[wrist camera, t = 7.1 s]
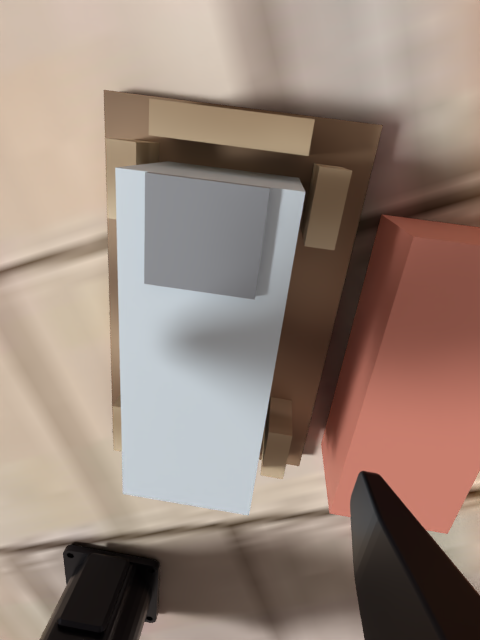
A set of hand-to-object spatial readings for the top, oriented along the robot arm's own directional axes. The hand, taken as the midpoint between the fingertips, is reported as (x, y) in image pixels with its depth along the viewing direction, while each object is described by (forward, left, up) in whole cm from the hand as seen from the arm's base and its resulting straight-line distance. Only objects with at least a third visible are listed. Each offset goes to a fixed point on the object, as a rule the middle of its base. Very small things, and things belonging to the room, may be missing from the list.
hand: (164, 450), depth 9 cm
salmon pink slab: (-1, -8, -10) cm, 13 cm away
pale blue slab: (0, 0, -9) cm, 9 cm away
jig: (0, 0, -10) cm, 10 cm away
